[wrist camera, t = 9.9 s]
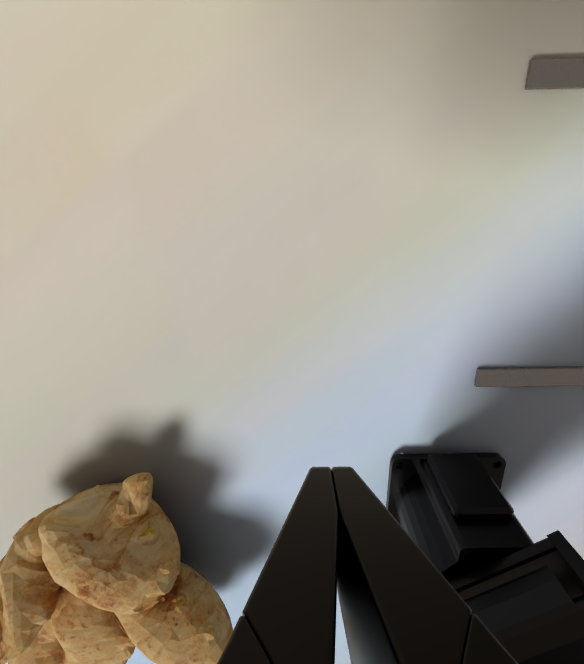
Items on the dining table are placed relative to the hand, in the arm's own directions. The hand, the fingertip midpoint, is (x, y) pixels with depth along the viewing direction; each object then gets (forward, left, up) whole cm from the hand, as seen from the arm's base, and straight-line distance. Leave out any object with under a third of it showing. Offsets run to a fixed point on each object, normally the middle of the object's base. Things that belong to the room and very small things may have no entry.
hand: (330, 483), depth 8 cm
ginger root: (-16, +12, -12) cm, 24 cm away
